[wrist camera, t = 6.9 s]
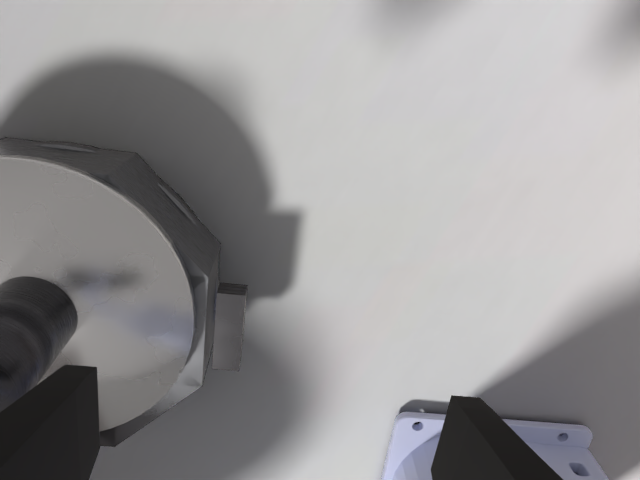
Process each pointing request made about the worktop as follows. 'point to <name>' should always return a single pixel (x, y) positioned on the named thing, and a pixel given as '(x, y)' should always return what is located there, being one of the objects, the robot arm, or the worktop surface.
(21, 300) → the lid
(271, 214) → the worktop surface
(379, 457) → the worktop surface
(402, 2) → the worktop surface
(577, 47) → the worktop surface
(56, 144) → the pot
